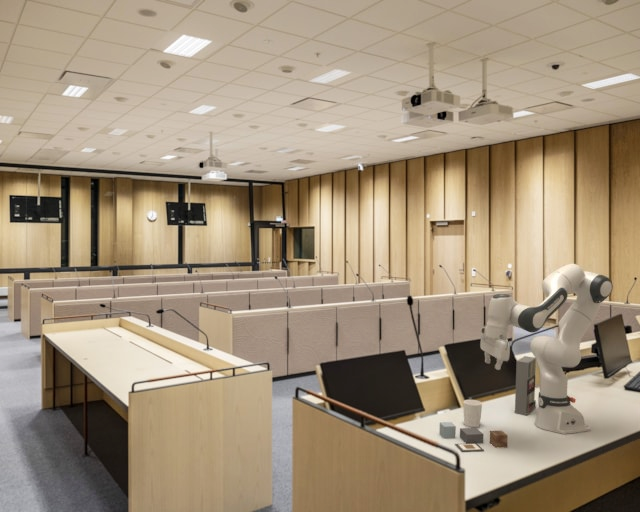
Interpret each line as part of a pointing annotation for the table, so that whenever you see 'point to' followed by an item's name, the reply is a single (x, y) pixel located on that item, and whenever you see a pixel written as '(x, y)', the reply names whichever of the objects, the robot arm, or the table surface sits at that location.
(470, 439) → the charcoal base block
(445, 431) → the slate-blue block
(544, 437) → the table surface
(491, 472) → the table surface
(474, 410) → the white cup
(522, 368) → the grey box
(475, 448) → the card
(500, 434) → the walnut block
